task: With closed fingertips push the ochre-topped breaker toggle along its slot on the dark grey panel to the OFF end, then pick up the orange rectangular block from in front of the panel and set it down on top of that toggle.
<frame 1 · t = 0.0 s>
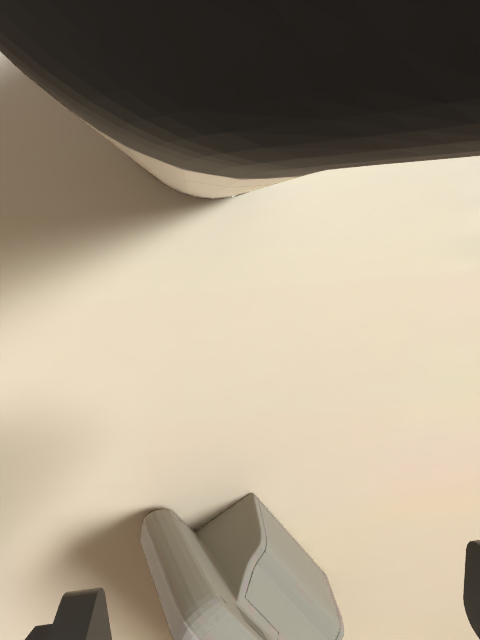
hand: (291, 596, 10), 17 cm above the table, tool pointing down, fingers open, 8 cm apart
digital clock: (241, 564, 30), on the table
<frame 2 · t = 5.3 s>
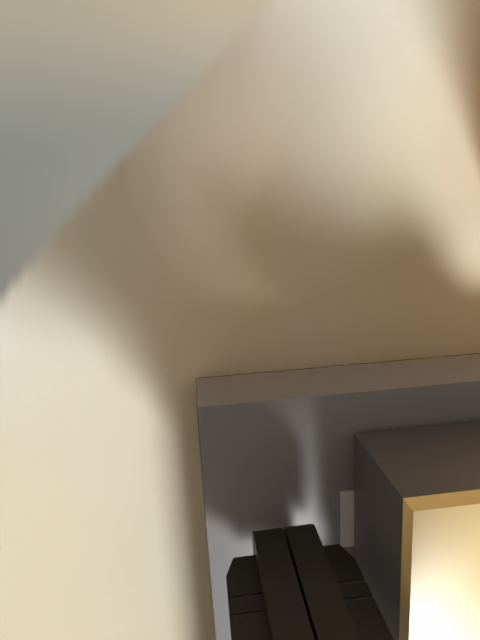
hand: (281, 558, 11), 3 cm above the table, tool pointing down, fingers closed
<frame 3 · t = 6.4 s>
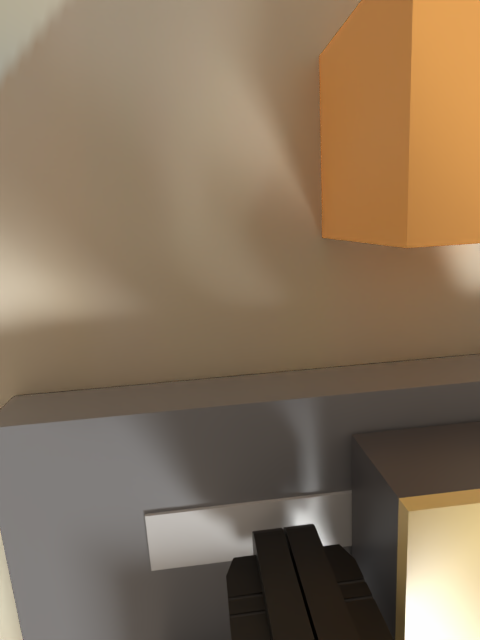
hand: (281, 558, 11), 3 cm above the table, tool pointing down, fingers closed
orange rectangular block: (402, 147, 12), on the table
breaker 2: (478, 552, 10), point 4 cm above the table, slide at 5.3 cm, touching gripper
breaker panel: (335, 570, 14), on the table
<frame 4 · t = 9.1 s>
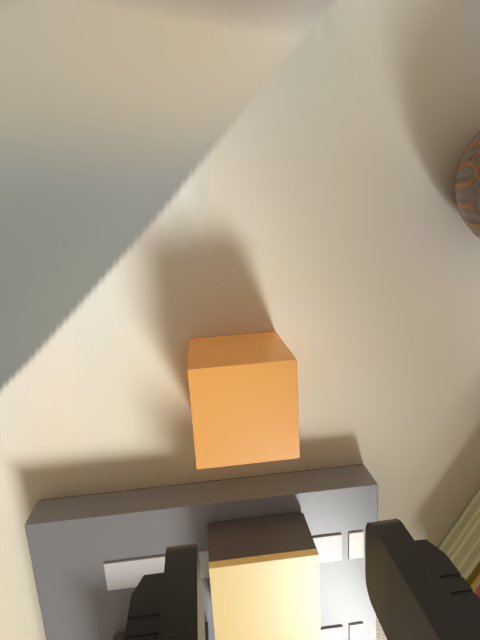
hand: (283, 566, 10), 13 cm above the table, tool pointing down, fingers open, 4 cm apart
orange rectangular block: (235, 375, 23), on the table
breaker 2: (262, 582, 22), point 4 cm above the table, slide at 5.4 cm
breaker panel: (215, 587, 26), on the table
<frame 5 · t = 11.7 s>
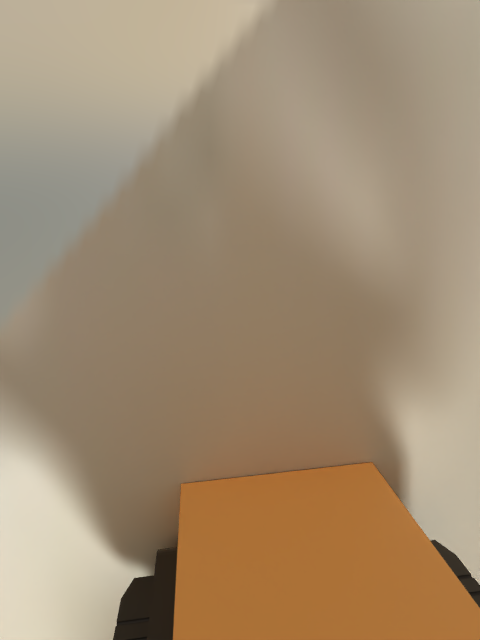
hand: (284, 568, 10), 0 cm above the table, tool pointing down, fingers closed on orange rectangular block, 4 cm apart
orange rectangular block: (282, 555, 11), on the table, touching gripper
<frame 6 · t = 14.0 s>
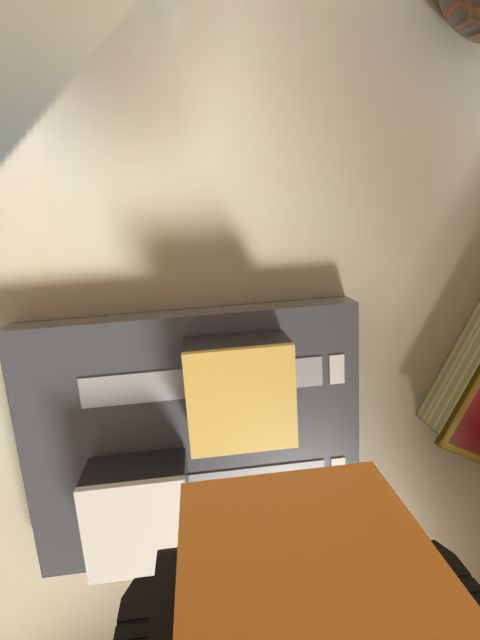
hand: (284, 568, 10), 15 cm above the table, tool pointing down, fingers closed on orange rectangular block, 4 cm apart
orange rectangular block: (282, 554, 11), point 15 cm above the table, touching gripper
breaker 1: (139, 513, 22), point 4 cm above the table, slide at 0.0 cm
breaker 2: (238, 390, 21), point 4 cm above the table, slide at 5.4 cm
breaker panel: (194, 427, 25), on the table
when the fingers open (7 cm above the table, at t = 16.2 s): orange rectangular block drops 1 cm, resting on breaker 2.
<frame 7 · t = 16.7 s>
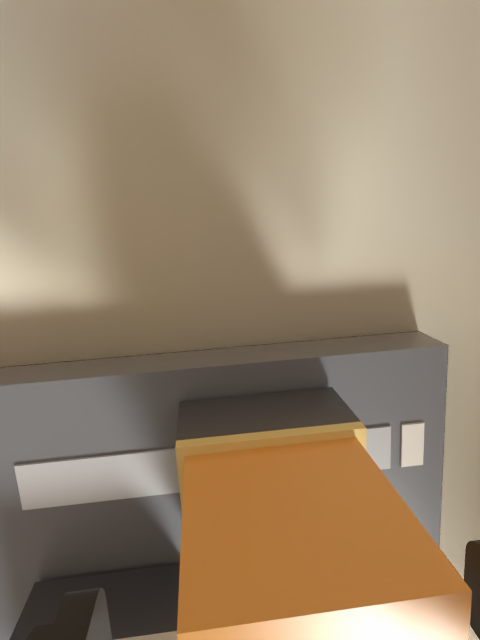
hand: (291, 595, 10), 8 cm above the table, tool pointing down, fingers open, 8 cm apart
orange rectangular block: (276, 522, 12), point 5 cm above the table, touching breaker 2
breaker 2: (267, 489, 13), point 4 cm above the table, slide at 5.4 cm, touching orange rectangular block
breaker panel: (197, 520, 18), on the table
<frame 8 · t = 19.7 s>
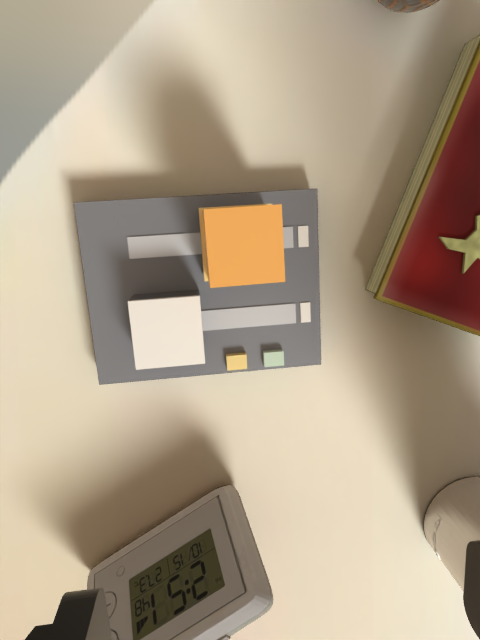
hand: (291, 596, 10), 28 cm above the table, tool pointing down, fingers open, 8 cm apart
orange rectangular block: (237, 242, 31), point 5 cm above the table, touching breaker 2
breaker 1: (168, 328, 33), point 4 cm above the table, slide at 0.0 cm
digital clock: (174, 539, 41), on the table
breaker 2: (235, 242, 32), point 4 cm above the table, slide at 5.4 cm, touching orange rectangular block
hardcover book: (466, 197, 37), on the table
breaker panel: (205, 285, 36), on the table
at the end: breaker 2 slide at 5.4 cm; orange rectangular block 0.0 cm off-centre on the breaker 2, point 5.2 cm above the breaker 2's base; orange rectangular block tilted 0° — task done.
